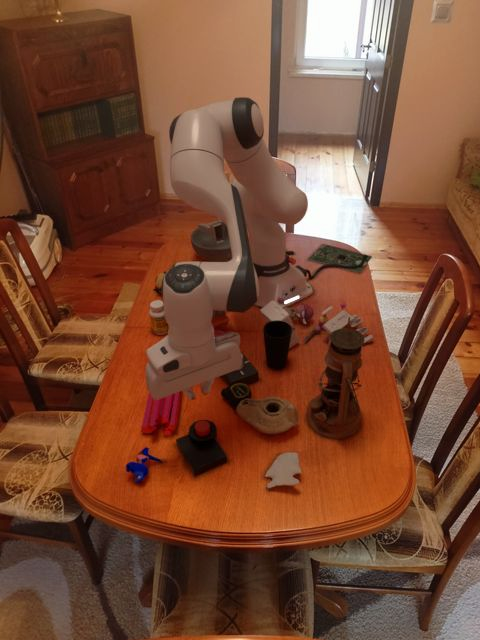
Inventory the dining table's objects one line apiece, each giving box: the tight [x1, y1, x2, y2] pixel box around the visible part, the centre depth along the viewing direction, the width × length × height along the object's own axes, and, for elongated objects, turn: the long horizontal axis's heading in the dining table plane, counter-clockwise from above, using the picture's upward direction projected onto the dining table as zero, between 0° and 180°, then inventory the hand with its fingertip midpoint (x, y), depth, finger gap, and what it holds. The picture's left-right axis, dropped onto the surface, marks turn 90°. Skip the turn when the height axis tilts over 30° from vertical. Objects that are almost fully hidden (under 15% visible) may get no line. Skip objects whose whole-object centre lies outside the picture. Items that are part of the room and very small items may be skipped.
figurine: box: [125, 446, 163, 484], centre depth 106 cm, size 5×8×5 cm, turn 158°
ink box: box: [259, 301, 301, 349], centre depth 138 cm, size 9×5×12 cm, turn 32°
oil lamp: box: [235, 396, 299, 435], centre depth 115 cm, size 11×15×8 cm
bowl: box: [190, 224, 232, 262], centre depth 177 cm, size 20×20×10 cm
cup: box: [262, 320, 292, 371], centre depth 131 cm, size 8×8×12 cm
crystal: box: [140, 391, 183, 437], centre depth 121 cm, size 8×6×25 cm
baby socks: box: [350, 314, 374, 344], centre depth 144 cm, size 12×5×3 cm, turn 16°
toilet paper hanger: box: [197, 218, 225, 244], centre depth 174 cm, size 22×13×6 cm, turn 127°
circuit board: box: [307, 243, 373, 274], centre depth 180 cm, size 14×20×1 cm
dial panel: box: [220, 350, 260, 387], centre depth 130 cm, size 8×10×3 cm
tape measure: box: [220, 382, 253, 412], centre depth 122 cm, size 7×7×4 cm
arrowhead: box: [264, 451, 302, 489], centre depth 106 cm, size 8×2×10 cm
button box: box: [175, 419, 228, 478], centre depth 110 cm, size 9×11×4 cm
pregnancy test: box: [320, 305, 354, 335], centre depth 143 cm, size 8×12×1 cm, turn 141°
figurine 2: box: [278, 298, 322, 343], centre depth 144 cm, size 11×13×15 cm
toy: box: [152, 270, 168, 293], centre depth 159 cm, size 8×9×15 cm
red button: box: [195, 419, 210, 437], centre depth 110 cm, size 3×3×2 cm
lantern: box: [306, 317, 365, 440], centre depth 109 cm, size 17×13×30 cm
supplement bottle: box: [148, 299, 169, 336], centre depth 143 cm, size 5×5×10 cm
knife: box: [286, 250, 295, 255], centre depth 186 cm, size 14×4×1 cm, turn 30°
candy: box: [318, 301, 347, 347], centre depth 144 cm, size 18×8×6 cm, turn 173°
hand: (198, 395), depth 103 cm, fingers closed
